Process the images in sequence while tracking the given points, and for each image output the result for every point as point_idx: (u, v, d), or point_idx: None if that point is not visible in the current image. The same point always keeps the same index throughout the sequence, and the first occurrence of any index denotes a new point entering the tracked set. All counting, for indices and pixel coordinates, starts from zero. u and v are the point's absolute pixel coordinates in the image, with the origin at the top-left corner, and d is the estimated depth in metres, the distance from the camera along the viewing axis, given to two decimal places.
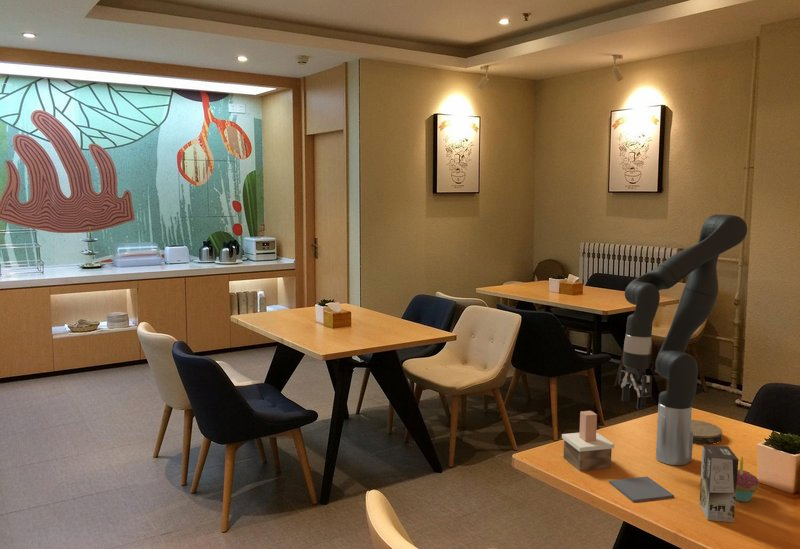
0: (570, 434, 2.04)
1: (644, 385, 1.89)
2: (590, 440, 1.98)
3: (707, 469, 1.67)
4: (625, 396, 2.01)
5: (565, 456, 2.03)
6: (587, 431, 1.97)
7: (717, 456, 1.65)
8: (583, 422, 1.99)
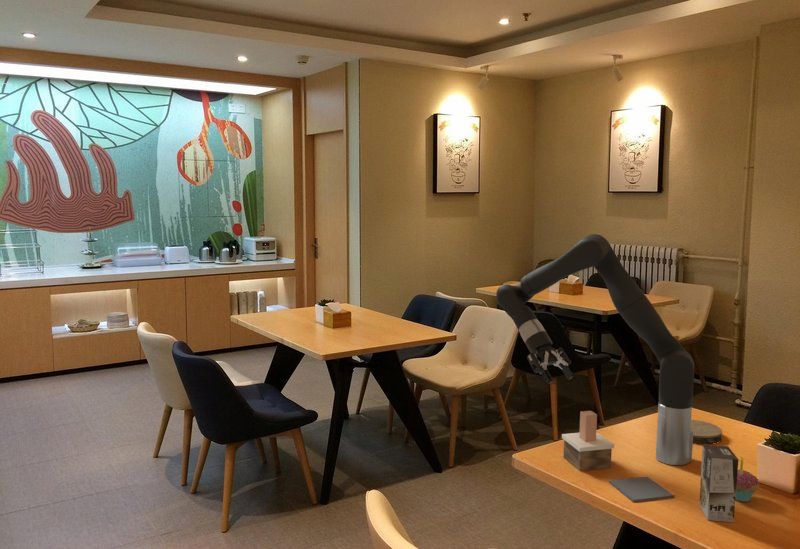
0: (570, 434, 2.04)
1: (530, 363, 2.08)
2: (590, 440, 1.98)
3: (707, 469, 1.67)
4: (566, 375, 2.10)
5: (565, 456, 2.03)
6: (587, 431, 1.97)
7: (717, 456, 1.65)
8: (583, 422, 1.99)
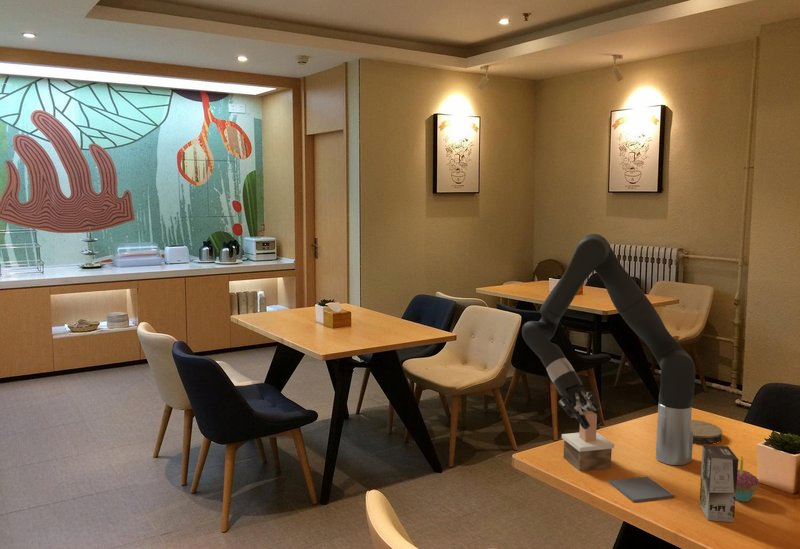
0: (570, 434, 2.04)
1: (564, 409, 1.99)
2: (590, 440, 1.98)
3: (707, 469, 1.67)
4: None
5: (565, 456, 2.03)
6: (587, 431, 1.97)
7: (717, 456, 1.65)
8: None
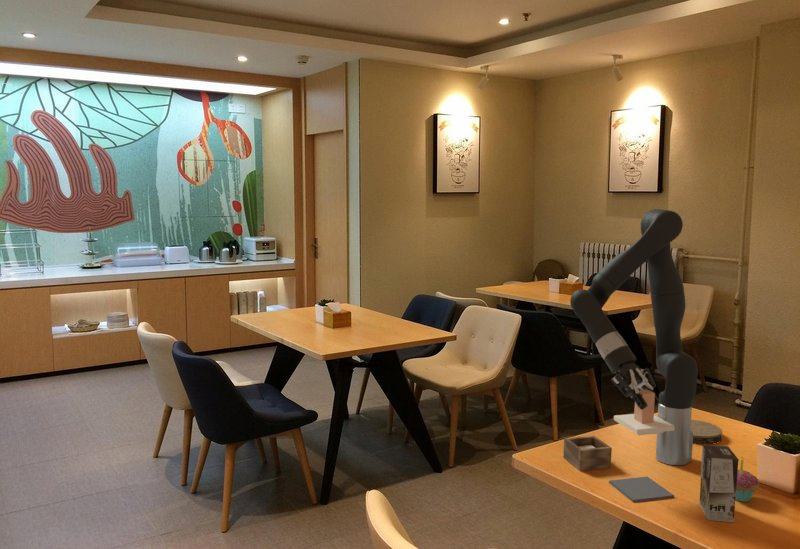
0: (622, 415, 1.84)
1: (618, 387, 1.79)
2: (647, 422, 1.78)
3: (707, 469, 1.67)
4: None
5: (565, 456, 2.03)
6: (644, 411, 1.78)
7: (717, 456, 1.65)
8: None
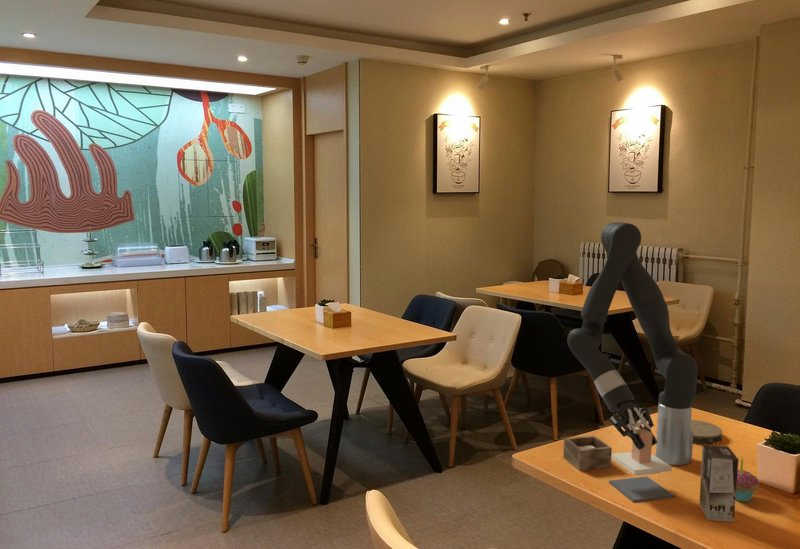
0: (620, 453, 1.86)
1: (616, 427, 1.80)
2: (644, 461, 1.80)
3: (707, 469, 1.67)
4: None
5: (565, 456, 2.03)
6: (642, 451, 1.79)
7: (717, 456, 1.65)
8: None
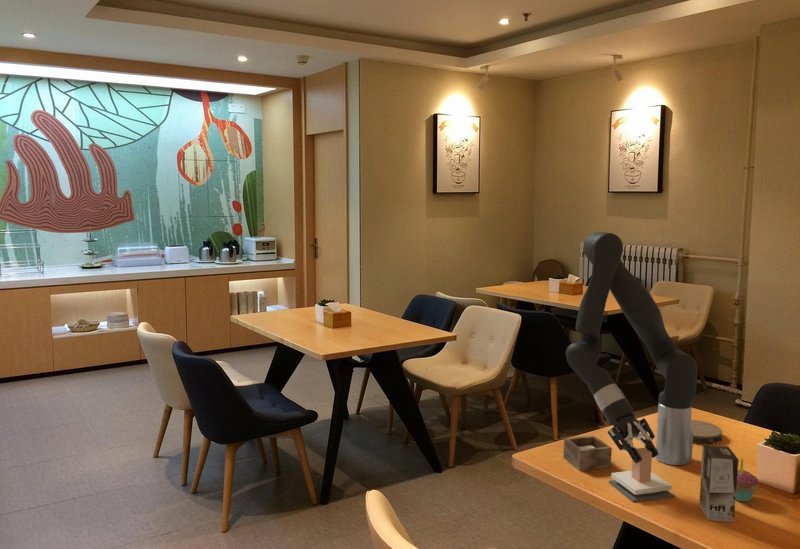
0: (620, 472, 1.86)
1: (613, 439, 1.81)
2: (644, 480, 1.80)
3: (707, 469, 1.67)
4: None
5: (565, 456, 2.03)
6: (641, 470, 1.80)
7: (717, 456, 1.65)
8: None
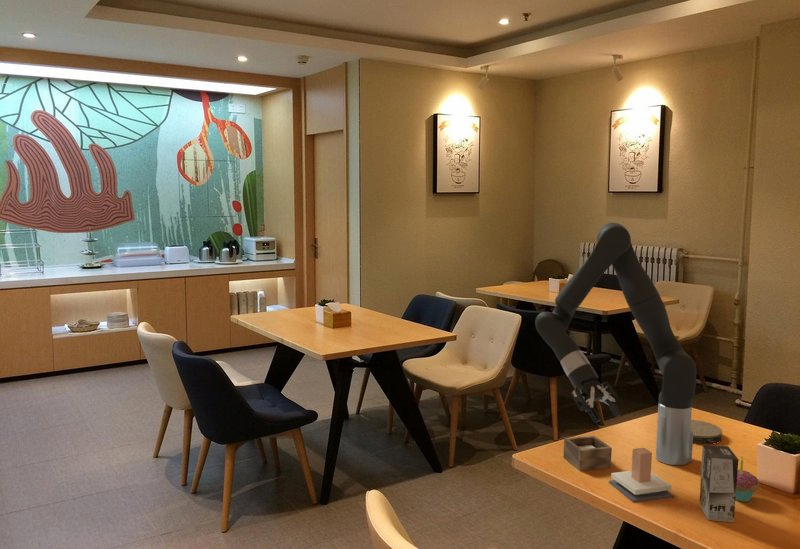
0: (620, 472, 1.86)
1: (575, 400, 1.91)
2: (644, 480, 1.80)
3: (707, 469, 1.67)
4: (614, 412, 1.93)
5: (565, 456, 2.03)
6: (641, 470, 1.80)
7: (717, 456, 1.65)
8: (636, 460, 1.81)
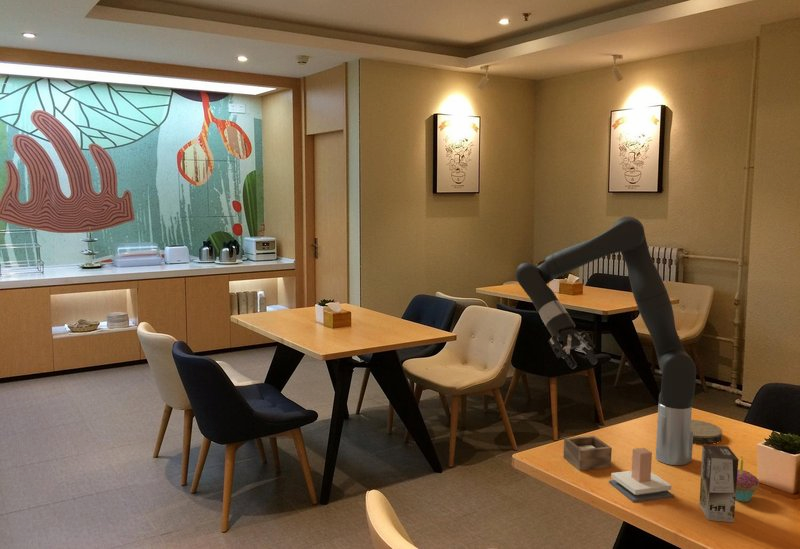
0: (620, 472, 1.86)
1: (552, 347, 1.94)
2: (644, 480, 1.80)
3: (707, 469, 1.67)
4: (591, 359, 1.96)
5: (565, 456, 2.03)
6: (641, 470, 1.80)
7: (717, 456, 1.65)
8: (636, 460, 1.81)
